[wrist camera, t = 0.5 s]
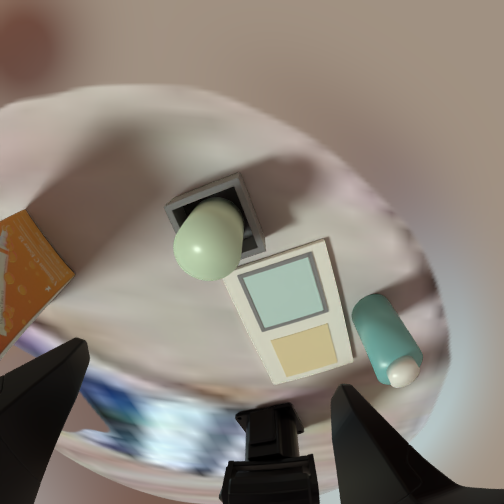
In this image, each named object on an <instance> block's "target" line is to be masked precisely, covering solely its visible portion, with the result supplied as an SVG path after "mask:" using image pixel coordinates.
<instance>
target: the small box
mask: <svg viewBox="0 0 504 504" xmlns="http://www.w3.org/2000/svg"><path fill="white" fill-rule="evenodd" d="M74 276H75V274H74V273H73V272H72V271H71V270H70V268H69V267H68V266H67V265H66V264H65V263H64V262H63V260H62V259H61V258H60V257H59V255H58V254H57V253H56V252H55V250H54V249H53V248H52V246H51V245H50V244H49V243H48V241H47V240H46V239H45V237H44V236H43V235H42V233H41V232H40V230H39V229H38V228H37V226H36V225H35V223H34V222H33V220H32V219H31V218H30V216H29V214H28V213H27V211H26V210H25V209H24V210H21V211H19V212H17V213H15V214H13V215H11V216H9V217H7V218H5V219H3V220H1V221H0V360H1V359H2V358H3V356H4V355H5V354H6V353H7V351H8V350H9V349H10V348H11V347H12V346H13V344H14V343H15V342H16V341H17V340H18V339H19V337H20V336H21V335H22V334H23V333H24V332H25V331H26V329H27V328H28V327H29V326H30V325H31V324H32V322H33V321H34V320H35V319H36V318H37V317H38V316H39V315H40V313H41V312H42V311H43V310H44V309H45V308H46V307H47V306H48V305H49V303H50V302H51V301H52V300H53V299H54V298H55V297H56V296H57V295H58V293H59V292H60V291H61V290H62V289H63V288H64V287H65V286H66V285H67V284H68V283H69V282H70V280H71V279H72V278H73V277H74Z"/></svg>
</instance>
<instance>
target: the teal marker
mask: <svg viewBox="0 0 504 504" xmlns="http://www.w3.org/2000/svg"><path fill="white" fill-rule="evenodd" d="M352 320H353V323H354V325H355V327H356V329H357V332H358V334H359V336H360V338H361V341H362V343H363V345H364V348H365V350H366V352H367V355H368V357H369V359H370V362H371V364H372V366H373V369H374V371H375V374H376V376H377V378H378V380H379V382H381V383H383V384H388V385H390V384H391V385H392V386H393V387H395V388H401V387H404V386H407V385H408V384H410V383H412V382H413V381H414V380H415V379H416V378H417V376H418V375H419V371H420V369H419V367H420V365H421V363H422V360H423V355H422V352H421V350H420V349H419V347H418V346H417V344H416V342H415V341H414V339H413V338H412V336H411V334H410V333H409V331H408V330H407V328H406V327H405V325H404V323H403V322H402V320H401V319H400V317H399V316H398V314H397V313H396V311H395V310H394V308H393V307H392V305H391V304H390V302H389V301H388V299H387V298H386V297H385V296H383V295H380V294H372V295H368V296H366V297H364V298H363V299H361V300H360V301H359V302H358V303H357V304H356V305H355V307H354V309H353V311H352Z"/></svg>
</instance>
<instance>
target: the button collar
mask: <svg viewBox="0 0 504 504" xmlns="http://www.w3.org/2000/svg"><path fill="white" fill-rule="evenodd" d="M233 186H234V187H235V190H236V192H237V195H238V197H239V200H240V202H241V205H242V208H243V210H244V213H245V215H246V218H247V220H248V223H249V226H250V228H251V231H252V233H253V236H252V237H250V238H247V239H244V240H243V242H242V252H241V258H240V260H241V259H244V258H247V257H250V256H253V255H256V254H259V253H262V252H265V251H266V245H265V237H264V234H263V232H262V229H261V226H260V224H259V221H258V218H257V216H256V213H255V210H254V208H253V205H252V202H251V200H250V197H249V194H248V192H247V189H246V187H245V184H244V181H243V179H242V176H241V174H240V172H239V173H236V174H234V175H231V176H228V177H226V178H223V179H220V180H218V181H215V182H213V183H210V184H207V185H205V186H202V187H200V188H197V189H195V190H192V191H190V192H187V193H185V194H182V195H180V196H177V197H175V198H173V199H172V200H171V201H170V202H169V203H168V204H166V205H165V206H164V209H165V211H166V213H167V215H168V218H169V220H170V222H171V224H172V226H173V229H174V231H175V233H176V234H177V232H178V231H179V229H180V228H181V226H182V225H183V223H184V222H185V221H186V219H187V218H188V217H187V215H186V213H185V210H184V208H183V206H184V205H186V204H189V203H191V202H194V201H197V200H199V199H202V198H204V197H207V196H209V195H212V194H215V193H217V192H220V191H223V190H225V189H228V188H231V187H233Z"/></svg>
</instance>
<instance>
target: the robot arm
mask: <svg viewBox="0 0 504 504" xmlns="http://www.w3.org/2000/svg"><path fill="white" fill-rule="evenodd" d="M89 361H90V355H89V350H88V345H87V342H86V340H84V339H80V338H73V339H71V340H70V341H68V342H66V343H64V344H62V345H60V346H58V347H56V348H54V349H52V350H50V351H48V352H47V353H45V354H43V355H41V356H39V357H37V358H35V359H33V360H31V361H29V362H27V363H26V364H24V365H22V366H20V367H18V368H16V369H14V370H12V371H10V372H8V373H6V374H5V375H3V376H1V377H0V504H34V501H35V498H36V496H37V493H38V490H39V487H40V484H41V481H42V478H43V475H44V473H45V470H46V467H47V465H48V462H49V459H50V457H51V455H52V452H53V450H54V447H55V445H56V443H57V440H58V438H59V436H60V433H61V431H62V429H63V426H64V424H65V422H66V419H67V417H68V415H69V413H70V411H71V408H72V407H73V404H74V402H75V400H76V398H77V395H78V393H79V390H80V387H81V384H82V381H83V378H84V376H85V373H86V370H87V367H88V365H89ZM235 419H236V420H237V422H238V423H239V424H240V426H241V427H242V428H243V429H244V431H245V432H246V449H245V461H235V462H234V461H229V462H228V467H226V471H225V476H224V481H223V486H222V489H221V492H220V494H219V500H221V501H222V502H223V504H320V500H319V489H318V481H317V475H316V469H315V463H314V457H313V454H308V455H307V456H300V455H299V446H298V437H297V434H301V433H303V432H304V428H303V426H302V424H301V422H300V420H299V418H298V416H297V413H296V411H295V409H294V407H293V405H292V404H290V403H286V404H282V405H278V406H273V407H269V408H264V409H259V410H254V411H249V412H244V413H238V414H236V415H235ZM331 425H332V443H333V450H334V456H335V463H336V470H337V477H338V485H339V492H340V500H341V504H504V489H486V488H472V487H464V486H461V485H458V484H456V483H455V482H453V481H452V480H451V479H449V478H448V477H447V476H445V475H444V474H443V473H442V472H440V471H439V470H438V469H436V468H435V467H434V466H433V465H431V464H430V463H429V462H428V461H427V460H426V459H424V458H423V457H422V456H421V455H420V454H419V453H418V452H417V451H416V450H415V449H414V448H413V447H412V446H411V445H409V443H408V442H407V441H406V440H405V439H404V438H403V437H402V436H401V435H400V434H399V433H398V432H397V431H396V430H395V429H394V428H393V427H392V426H391V425H390V424H389V423H388V422H387V421H386V420H385V419H384V418H383V417H382V416H381V415H380V414H379V413H378V412H377V411H376V410H375V409H374V408H373V407H372V406H371V405H370V403H369V402H368V401H367V400H366V399H365V398H364V397H363V396H362V395H361V394H360V393H359V392H358V391H357V390H356V389H355V388H354V387H353V386H352V385H350V384H340V385H339V386H338V388H337V390H336V392H335V393H334V395H333V397H332V399H331Z"/></svg>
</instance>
